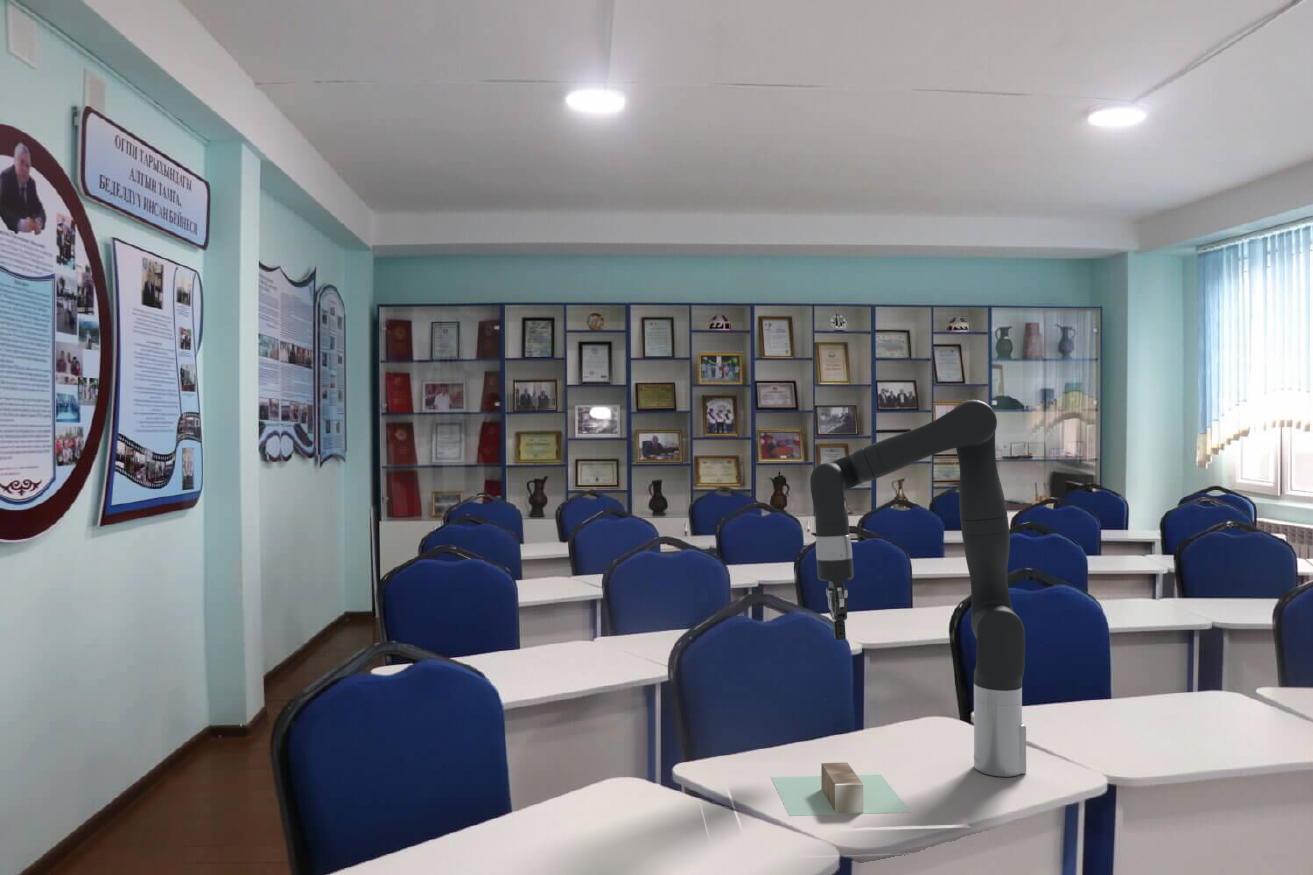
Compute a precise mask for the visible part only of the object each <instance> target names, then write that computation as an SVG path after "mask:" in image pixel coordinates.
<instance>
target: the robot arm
mask: <svg viewBox="0 0 1313 875" xmlns="http://www.w3.org/2000/svg"><path fill="white" fill-rule="evenodd" d="M997 425H998V419H997V414H996V413H995V410H994V409H993V408H992V407H991V406H990V405H989V404H988V403H986V402H984V401H982V400H978V399H968V400H965V401H962V402H960V403H958V404H957V405H956V406H955V407H954V408H953V409H952V410H950V411H948V412H947V413H945V414H944V415H941V416H940V417H938V418H937V419H934V420H933V421H931V422H929V423H926V424H924V425H922V426H920V427H917V428H914V429H912V430H908V431H906V432H903V433H900V434H896V435H894V436H890V437H888V438H884V439H883V440H879V441H877V442H874V443H872V444H870V445H866V446H864V447H861V448H860V449H857V450H856V451H854V452H853V453H851V454H849V455H846V456H843V457H840V458H838V459H835V460H832V461H829V462H825V463H824V462H823V463H820V464H817V466H815V467H814V469H813V470H812V472H811V474H810V478H809V480H810V481H809V483H810V485H809V486H810V494H811V499H812V504H813V509H814V515H815V516H814V520H815V521H814V522H815V524H814V526H815V538H816V539H815V540H816V541H815V555H816V570H817V571H816V572H817V579H818V580H819V581H821V582H822V581H823V582H828V587H826V590H825V592H826V596H827V603H828V609H829V615H830V617H831V620H832V624H833V637H834V639H835V640H837V641H839V640H840V641H841V640H846V639H847V638H846V637H847V636H846V635H847V633H846V621H847V620H848V606H849V605H848V604H849V598H848V595H849V594H848V588H846V586H845V583H844V582H845V581H848V580H849V581H850V580H852V579H853V578H854V575H855V574H854V560H853V548H852V541H851V540H852V539H851V536H850V533H851V532H850V523H849V522H850V520H849V514H848V511H847V509H846V505H845V491H847V490H850V489H853V488H854V487H856V486H858V485H861V484H864V483H865V482H866V483H867V482H870V481H874V480H876V479H878V478H881V477H885V476H886V475H889V474H892V473H895V472H897V471H900V470H901V469H903V468H905V467H908V466H911V465H913V464H914V463H916V462H919V461H921V460H924V459H927V458H928V457H931V456H934V455H937V454H939V453H942V452H946V451H948V450H953V449H955V450H956V455H957V460H958V465H959V488H958V489H959V491H958V496H959V497H958V499H959V502H958V503H959V519H960V526H961V527H960V528H961V538H962V542H963V549H964V555H965V560H966V565H967V570H968V574H969V579H970V590H971V591H970V598H971V602H970V605H971V607H970V609H971V610H970V611H971V616H970V621H971V622H970V623H971V629H972V633H973V635H974V637H975V639H976V664H975V668H974V670H973V768H974V769H975V770H976V771H978V772H980V773H982V774H984V775H989V776H994V777H1000V778H1001V777H1002V778H1003V777H1005V778H1006V777H1007V778H1010V777H1016V776H1019V775H1022V774H1023V775H1024V774H1027V727H1026V725H1025V724H1024V723H1023V677H1024V674H1025V663H1026V662H1025V661H1026V660H1025V659H1026V657H1025V656H1026V633H1025V632H1026V631H1025V627H1024V623H1023V621H1022V618H1020V617H1019V616H1018V615H1017V614H1016V613H1015V612H1014V609H1013V604H1012V601H1011V596H1010V591H1009V585H1008V584H1009V583H1008V567H1009V557H1010V548H1011V536H1010V532H1011V531H1010V524H1009V518H1008V517H1009V516H1008V509H1007V504H1006V500H1005V499H1006V498H1005V494H1004V490H1003V487H1002V483H1001V480H1000V475H999V471H998V466H997V457H996V456H997V455H996V452H997V451H996V430H997Z"/></svg>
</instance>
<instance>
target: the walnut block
mask: <svg viewBox="0 0 1313 875" xmlns="http://www.w3.org/2000/svg"><path fill="white" fill-rule="evenodd" d="M820 766H821V774H820V776H821V789H822V791H823V793H824V794H825V796H826V798H827V799H828V801H829V803H830V804H831V806H832V808H833V809H834V811H835V813H856V812H863V783H862V782H861V781H860V779H859V778H858V776H857V775H858V774H856V772H855V771H854V769H853V768H852V766H850V764H849V763H848V762H821V765H820Z"/></svg>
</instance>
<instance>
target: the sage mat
mask: <svg viewBox="0 0 1313 875" xmlns="http://www.w3.org/2000/svg"><path fill="white" fill-rule="evenodd" d="M856 775H857V776H858V778H859V779H860V781H861V782H862V783H863V812H856V813H835V811H834V809H833V808H832V806H831V804H830V803H829V801H828V799H827V798H826V796H825V794H824V793H823V791H822V789H821V775H812V776H811V775H810V776H809V775H805V776H803V775H802V776H771V777H770V779H771V781H772V783H773V785H774V787H775V790H776V791H777V794H778V795H779V797H780V799H781V801H782V804H783V805H784V807H785V810H786V812H787V814H788V816H789V817H793V816H795V817H797V816H799V817H800V816H831V815H870V814H874V815H875V814H903V813H904V814H905V813H906V814H907V813H909V814H910V813H912V811H911V810H910V809H909V808H908V806H907V805H906V804H905V803H904V801H903V800H902V799H901V798H900V796H899V795H898V794H897V793H896V792H895V790H894V789H893V788H892V786H891V785H890V784H889V782H887V780H886V779H885V778H884V776H882V774H878V773H877V774H856Z"/></svg>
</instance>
